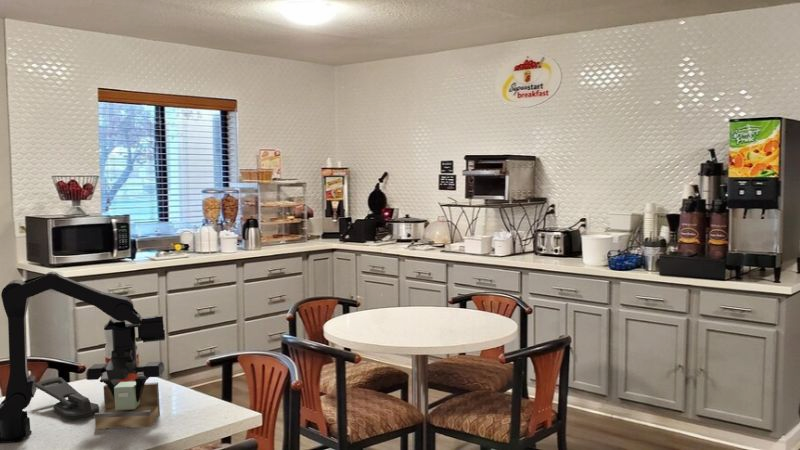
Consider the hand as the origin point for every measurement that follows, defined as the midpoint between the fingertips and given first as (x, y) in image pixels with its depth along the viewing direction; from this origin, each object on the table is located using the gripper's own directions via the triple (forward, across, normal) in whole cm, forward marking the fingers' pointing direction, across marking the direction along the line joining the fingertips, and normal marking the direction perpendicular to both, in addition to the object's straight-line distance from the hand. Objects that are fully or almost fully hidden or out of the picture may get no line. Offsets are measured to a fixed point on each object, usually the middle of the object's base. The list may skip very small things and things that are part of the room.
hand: (127, 402), depth 189 cm
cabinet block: (+1, 0, 0) cm, 1 cm away
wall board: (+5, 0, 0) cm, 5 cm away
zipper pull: (+6, -21, +12) cm, 25 cm away
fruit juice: (+6, -9, +25) cm, 27 cm away
